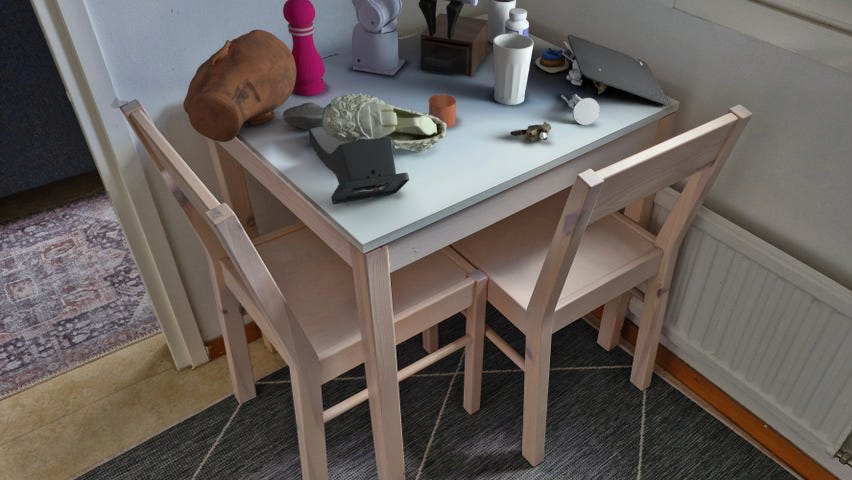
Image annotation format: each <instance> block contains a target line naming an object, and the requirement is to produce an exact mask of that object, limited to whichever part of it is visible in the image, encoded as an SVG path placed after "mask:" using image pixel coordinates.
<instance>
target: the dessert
mask: <svg viewBox="0 0 852 480" xmlns="http://www.w3.org/2000/svg"><path fill="white" fill-rule="evenodd" d="M562 52H564V50H563V49H560V50H557V49H552V47H549V48H548V49H546V50H544V51H542V53H541V54H540V57H539V58H536V59H535V61H534V62H535V65H536V66H537V67H538V68H540V69H541V70H543V71H545V72H548V73H554V74H555V73H558V72H562V71H565V70H568V69H569V68H570V63H569V61H568V60H567V59H566V58H567V57H565V56H564V55H563V54H562Z"/></svg>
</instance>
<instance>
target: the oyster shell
mask: <svg viewBox="0 0 852 480" xmlns="http://www.w3.org/2000/svg"><path fill="white" fill-rule="evenodd" d="M599 70H600V71H601V69H599ZM592 83H593V85H594V86H595V87H596V88H597V90H598V92H597V95H601V94H603V93H604V92H605V91H606V89H607V88H608V86H609V85H606V84H603V83H600V82H597V81H595V80H592Z"/></svg>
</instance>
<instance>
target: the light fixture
mask: <svg viewBox="0 0 852 480" xmlns="http://www.w3.org/2000/svg"><path fill="white" fill-rule="evenodd" d="M307 131H308V138H309V143H310V145H311V147H312V149H313V151H314V153H315V154H316V155H317V157H318V158H319V159H320V161H321V162H322V163H323V165H324V166H325V167H326V168H327V169H329V170H330V171H331V172H332V173H333V174H334V175H335V177H336V179H337V183H338V184H337V186H336V189H334V191H333V193H332V194H331V196H330V198H331V199H330V200H331V204H332V205H338V204H339V205H340V204H345V203H350V202H356V201H362V200H368V199H374V198H379V197H384V196H390V195H395V194H397V193H398V192H400V190H401V189H402V188H403V187H405V185H406V184H407V183H408V182H409V181H410V176H409V173H408V172H400V173H397V170H396V164H395V157H394V150H393V149H394V148H393V145H392V141H391V138H375V139H368V138H367V137H363V136H360V137H357V138H355V139H354V140H353V142H349V143H345V142H342V141H340V140H338V139H336V138H333V137H331V136H330V135H327V134H326V131H325V130H324V129H323V128H322V126H318V127H313V128H309V129H308V130H307Z"/></svg>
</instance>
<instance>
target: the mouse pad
mask: <svg viewBox="0 0 852 480" xmlns="http://www.w3.org/2000/svg"><path fill="white" fill-rule="evenodd" d="M567 39H568V43H569V45H570V47H571V48H572V51H573V53H574V56H575V59H576V61H577V64H578V67H579V69H580V72H581V74H582V76H583V77H584V78H586V79H589V80H592V81H593V80H595V81H597V82H600V83H603V84H606V85H608V86H610V87H611V88H615V89H618V90H621V91H623V92H627V93H629V94H632V95H636V96H639V97H641V98H644V99H647V100H649V101H653V102H656V103H658V104H662V105H664V106H668V105H669V104H670V101H669V99H668V98H667V96H666V94H665V93H664V90H663V89H662V87H661V85H660V83H659V82H658V80H657V78H656V76H655V74H654V73H653V71H652V69H651V68H650V65H649V64H648V63H647V62H646V61H644V60H642V59H640V58H637V59H638V61H639V62H640V63H639V62H638V61H636V60H635V59H634V58H632V57H633V56H632V55H628V54H626V53H623V52H621V51H618V50H616V49H612V48H610V47H606V46H604V45H601V44H599V43H595V42H593V41H590V40H587V39H584V38H581V37H579V36H577V35H573V34H568V35H567ZM631 56H632V57H631ZM599 69H601V71H600V70H599Z"/></svg>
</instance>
